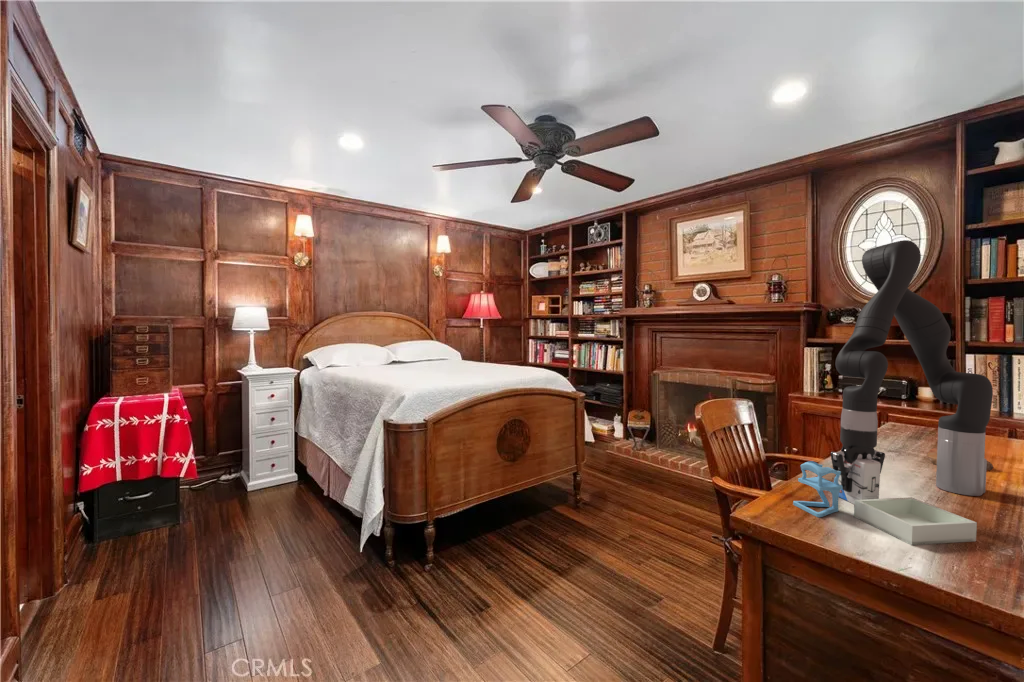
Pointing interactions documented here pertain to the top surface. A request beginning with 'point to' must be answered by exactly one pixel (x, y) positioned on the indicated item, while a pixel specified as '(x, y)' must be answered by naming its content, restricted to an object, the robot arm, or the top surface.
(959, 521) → the celadon dish
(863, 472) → the ink box
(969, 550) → the top surface
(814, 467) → the chair
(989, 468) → the ceramic shard
